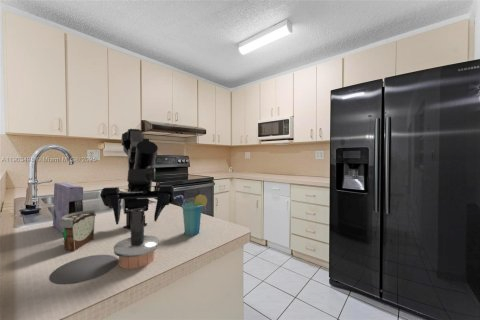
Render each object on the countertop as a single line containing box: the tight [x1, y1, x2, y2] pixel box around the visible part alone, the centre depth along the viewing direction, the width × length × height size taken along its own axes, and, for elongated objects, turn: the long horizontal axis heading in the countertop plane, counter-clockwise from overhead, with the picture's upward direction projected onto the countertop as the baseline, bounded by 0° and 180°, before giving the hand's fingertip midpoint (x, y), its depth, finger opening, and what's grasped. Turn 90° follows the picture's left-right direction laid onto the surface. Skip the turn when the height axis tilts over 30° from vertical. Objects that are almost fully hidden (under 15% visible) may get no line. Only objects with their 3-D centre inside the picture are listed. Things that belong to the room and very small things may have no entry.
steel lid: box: [113, 209, 160, 257], centre depth 58 cm, size 11×11×10 cm
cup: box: [174, 194, 208, 236], centre depth 79 cm, size 14×8×15 cm, turn 136°
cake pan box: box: [52, 181, 84, 233], centre depth 82 cm, size 19×5×18 cm, turn 54°
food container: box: [59, 210, 97, 252], centre depth 68 cm, size 12×6×10 cm, turn 5°
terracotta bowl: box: [118, 249, 156, 270], centre depth 58 cm, size 8×8×4 cm
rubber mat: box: [48, 254, 119, 285], centre depth 54 cm, size 14×14×1 cm
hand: (136, 222), depth 56 cm, fingers open, 9 cm apart
